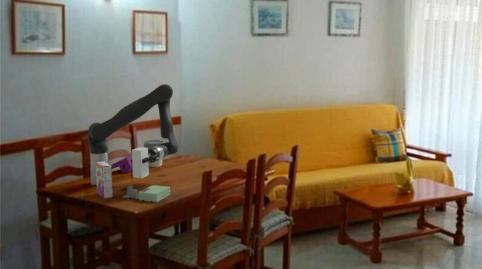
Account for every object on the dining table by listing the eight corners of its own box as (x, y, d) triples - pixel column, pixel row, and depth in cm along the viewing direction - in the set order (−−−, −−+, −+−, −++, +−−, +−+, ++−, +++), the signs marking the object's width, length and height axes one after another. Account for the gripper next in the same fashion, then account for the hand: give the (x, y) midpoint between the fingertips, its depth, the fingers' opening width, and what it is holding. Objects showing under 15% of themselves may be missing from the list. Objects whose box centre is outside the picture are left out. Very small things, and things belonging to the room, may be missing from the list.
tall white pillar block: (140, 174, 276) (139, 147, 274) (148, 174, 275) (147, 148, 272) (133, 177, 270) (131, 149, 268) (141, 178, 268) (140, 150, 266)
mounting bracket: (110, 180, 326) (131, 170, 317) (105, 167, 326) (126, 157, 318) (120, 176, 334) (141, 167, 326) (115, 164, 335) (136, 154, 326)
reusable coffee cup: (168, 164, 341) (168, 141, 339) (155, 168, 331) (155, 144, 328) (153, 162, 348) (153, 139, 345) (140, 165, 338) (139, 142, 335)
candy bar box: (96, 193, 275) (94, 162, 272) (105, 192, 278) (104, 161, 275) (103, 199, 266) (102, 166, 263) (113, 197, 269) (112, 165, 266)
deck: (137, 191, 280) (136, 182, 279) (170, 194, 274) (170, 186, 273) (122, 198, 267) (122, 189, 266) (156, 202, 261) (156, 193, 260)
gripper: (141, 146, 286) (124, 152, 270) (166, 148, 281) (150, 154, 265) (142, 160, 287) (125, 167, 271) (166, 162, 283) (150, 169, 267)
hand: (137, 160), depth 268 cm, fingers closed on tall white pillar block, 5 cm apart
